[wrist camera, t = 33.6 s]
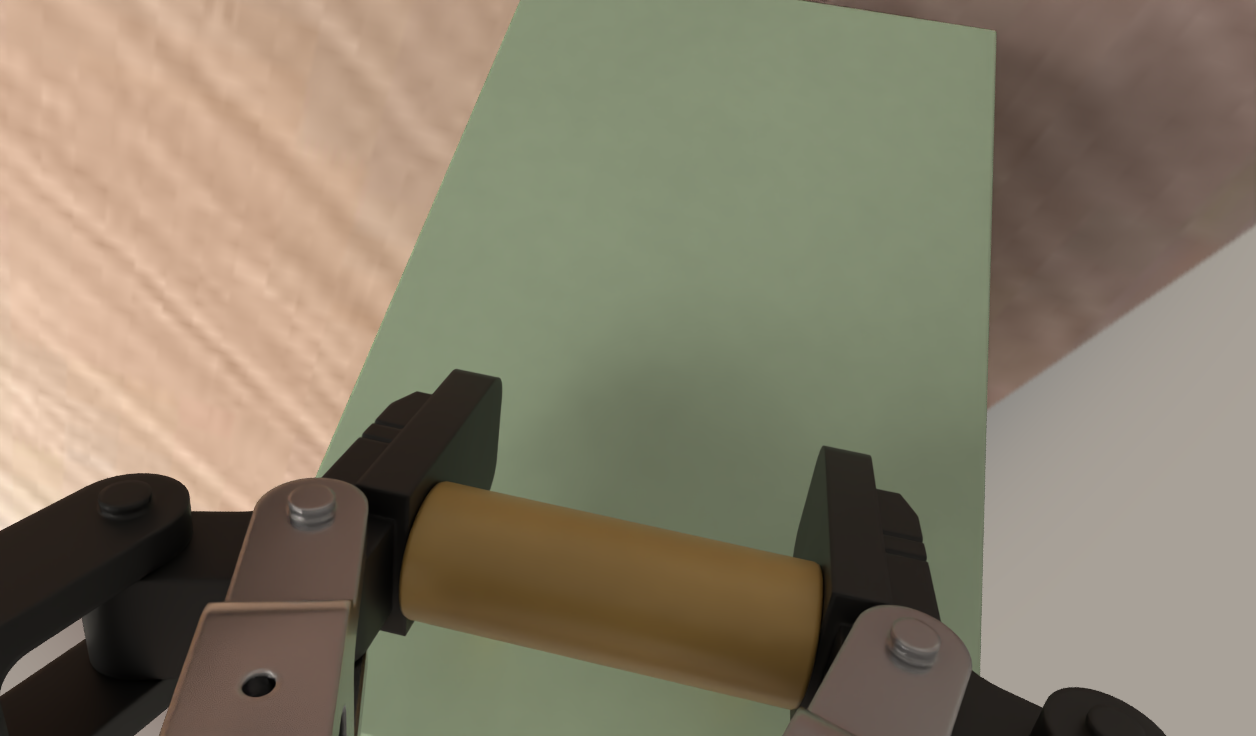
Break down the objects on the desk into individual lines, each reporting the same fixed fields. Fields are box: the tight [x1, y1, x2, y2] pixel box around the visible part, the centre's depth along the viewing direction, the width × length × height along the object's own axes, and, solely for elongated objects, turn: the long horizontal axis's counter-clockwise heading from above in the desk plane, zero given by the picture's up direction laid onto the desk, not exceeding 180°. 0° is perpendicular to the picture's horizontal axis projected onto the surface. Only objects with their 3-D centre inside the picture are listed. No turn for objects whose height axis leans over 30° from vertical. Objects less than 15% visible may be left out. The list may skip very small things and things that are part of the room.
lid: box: [315, 0, 996, 736], centre depth 16 cm, size 18×12×5 cm
